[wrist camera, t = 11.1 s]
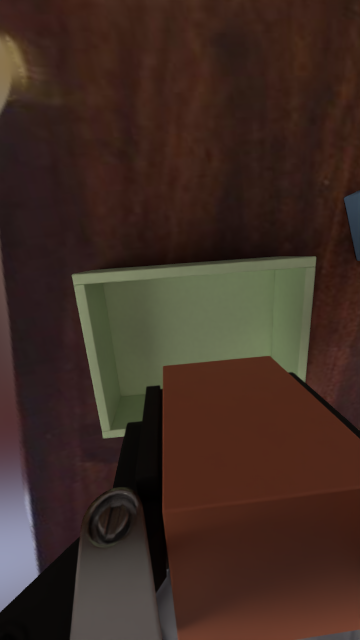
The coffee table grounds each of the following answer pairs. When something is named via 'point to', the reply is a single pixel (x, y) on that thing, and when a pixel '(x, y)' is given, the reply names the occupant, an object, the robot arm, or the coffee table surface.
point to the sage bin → (188, 323)
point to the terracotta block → (258, 505)
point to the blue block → (354, 219)
